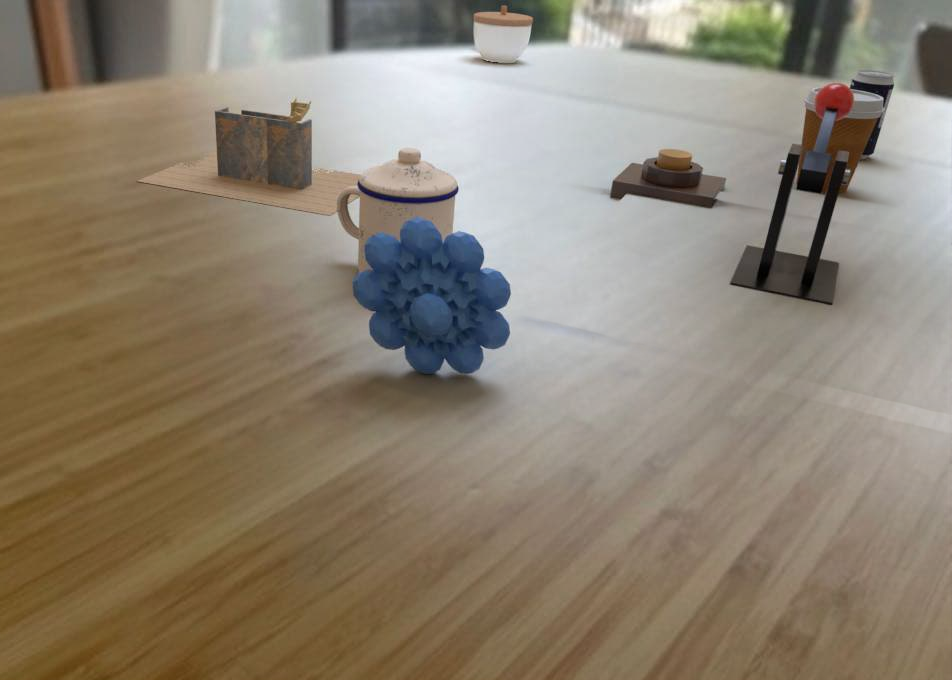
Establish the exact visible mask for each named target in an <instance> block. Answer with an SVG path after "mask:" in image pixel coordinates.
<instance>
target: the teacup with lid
mask: <svg viewBox="0 0 952 680" xmlns="http://www.w3.org/2000/svg"><path fill="white" fill-rule="evenodd" d="M397 155H398V156H397V158H393V159H390V160H388V161H387V162H384V163H383V164H381V165H378V166H373V167H370V168H368V169H365V170H363V172H361V174H360V175H361V176H360V177H359V180H358V183H357V186H351V187H348V188H346V189H344V190H343V191H342V192H341V193H340V194H339V196H338V200H337V211H336V212H337V216H338V220H339V222H340V224H341V227H342V228H343V229H344V231H345V232H346V233H347V234H348V235H349V236H351V237H352V238H354V239H356V240H358V248H357V249H358V250H357V251H358V253H357V255H358V256H357V269H358V273H360V272H363V271H365V270H368V269H370V270H373V269H372V268H371V267H370V265H369V264H368V263H367V261H366V260H365V252H364V247H365V244H366V242H367V240H368V238H369V237H371V236H374V235H376V234H378V233H380V232H382V233H386V234H389V235H392V236H394V237H396V238H397V240H398V241H399V242H400V243H401V241H400V230H401V228H402V226H403V224H404V222H406V221H408V220H411V219H413V218H415V217H420V218H423V219H426V220H429V221H431V222H432V223H433V224H434V225H435V227H436V228H437V229H438V231H439V232H440V233H441V235H442V243H443V242H444V240H445V238H446V236H448V235H451V234H453V233H454V220H455V206H456V205H455V204H456V195H458V193H459V190H460V189H459V185H458V182H457V179H456V178H455V177H454V175H452V174H451V173H450V172H448V171H446V170H442V169H441V168H440V169H439V168H436V166H434V165H433V164H431V163H430V162H428V161H426V160H424V159H422V153H421V151H420V149H418V148H415V147H403V148H401V149H400V150H399V151H398V154H397ZM351 194H353V195H358V196H359V207H358V209H359V211H358V214H359V215H358V227H357V225H356V224H355V223H354V222H353V220H352V218H351V215H350V212H349V208H348V207H349V203H348V198H349V196H350V195H351Z"/></svg>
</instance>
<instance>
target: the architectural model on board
mask: <svg viewBox="0 0 952 680" xmlns="http://www.w3.org/2000/svg"><path fill="white" fill-rule="evenodd" d="M311 104H312V100H310V101H309V102H300V101H298V99H297V98H294V100H293V101H292V102H290V114H289V115H282V114H275V113H269V112H262V111H255V110H248V109H241V110H240V111H241V112H240V113H234V112H229V111H230V110H229V108H230V107H228V106H227V107H226V106H225V107H222V108H220V109H217V110H214V122H215V125H214V126H215V140H216V142H215V143H216V150H209V151H210V152H211V151H213V152H214V153H213V152H211V153H210V152H209V151H208V152H209V153H210V154H208V153H207V155H211V157H210V156H208V157H209V158H208V157H206V156H205V157H203V158H205V159H203V160H201V161H200V160H198V161H200V162H198V163H197V164H195V165H197V166H196V167H194V166H195V165H194V166H192V165H190V166H192V167H190V166H189V167H190V168H189V167H187V166H188V165H186V166H185V165H183V164H184V163H182V162H179V163H177V164H174V165H172V166H170V167H167V168H165V169H163V170H159V171H158V172H156V173H155V172H154V173H152V174H150V175H148V176H145V177H142V178H141V179H138V180H137V182H140V183H145V184H150V185H156V186H163V187H168V188H173V189H179V190H184V191H189V192H196V193H202V194H206V195H212V196H219V197H224V198H230V199H236V200H239V201H240V200H241V201H247V202H252V203H258V204H264V205H268V206H274V207H280V208H285V209H291V210H297V211H304V212H307V213H314V214H318V215H319V214H320V215H326V216H332V215H333V214H334V213H336V212H337V200H338V196H339V194H340V193H341V192H342V191H343V190H344V189H346V188H348V187H351V186H357V183H358V180H359V177H360V176H361V174H358V173H354V172H353V173H352V172H347V173H346V171H339V170H334V169H328V170H330V171H331V170H333V172H330V171H329V173H326V172H328V170H325V169H326V168H321V167H317V168H318V169H320V170H317V169H314V170H317V172H316V171H314V170H312V167H313V164H312V162H313V160H312V159H313V149H312V148H313V144H312V143H313V119H311V118H310V119H306V120H304V121H302V120H303V119H304V118H305V116H306V115H307V113H308V112H309V111H310V109H311ZM301 121H302V122H301ZM203 154H204V153H203ZM204 155H206V154H204ZM212 155H213V156H212ZM202 161H203V162H202ZM209 161H210V162H209ZM192 163H193V162H192ZM195 163H196V162H195ZM199 163H200V164H199ZM179 164H180V165H179ZM187 164H188V163H187ZM178 165H179V166H178ZM181 165H183V166H184V167H183V166H181ZM199 165H200V166H199ZM173 166H174V167H173ZM185 167H186V168H185ZM322 170H324V171H322ZM338 171H339V172H338ZM318 172H319V173H318ZM314 173H315V174H314ZM357 198H360V196H358V195H353V194H351V195H350V196H349V198H348V204H350V203H351V202H353V201H355V200H356V199H357Z"/></svg>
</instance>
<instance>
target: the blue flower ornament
mask: <svg viewBox="0 0 952 680" xmlns="http://www.w3.org/2000/svg"><path fill="white" fill-rule="evenodd" d="M400 241H401V243H400V242H399V241H398V240H397V238H396V237H394V236H392V235H389V234H386V233H382V232H380V233H378V234H376V235H374V236H371V237H369V238H368V240H367V242H366V244H365V247H364V252H365V260H366V261H367V263H368V264H369V265H370V267H371V268H372V269H373V270H370V269H368V270H365V271H363V272H360V273H359V272H358V273H357V274H355V277H354V278H353V281H352V294H353V297H354V298H355V300H356V301H357V303H358V304H359V305H360V306H361V307H362V308H363V309H365V310H368V311H371V312H373V313H372V314H371V316H370V319H369V320H368V330H369V335H370V337H371V338H372V340H373V341H374V342H375V343H376V344H377V345H378V346H379V347H381V348H383V349H384V350H389V351H396V350H399V349H401V348H403V347H404V349H403V351H404V357H405V360H406V361H407V363H408V364H409V366H410V367H411V368H412V369H413V370H414V371H417V372H418V373H420V374H424V375H425V374H426V375H430V374H435V373H437V372H438V371H440V370H441V369H442V366H443V365H444V363H445V361H446V363H447V365H449V367H450V368H451V369H452V370H454V371H456V372H457V373H459V374H465V375H469V374H473V373H475V372H477V371H479V370H480V368H481V367H482V364H483V362H484V359H485V358H484V349H487V350H492V351H493V350H497V349H500V348H502V347H504V346H506V344H507V342H508V340H509V338H510V335H511V330H510V323H509V322H508V321H507V320H506V318H505V316H504V315H503V314H502V313H501V312H500V311H498V310H501V309H503V308H506V307H507V305H508V302H509V301H510V299H511V295H512V290H511V284H510V283H509V281H508V280H507V278H506V277H505V276H504V274H503V273H502V272H501V271H499V270H496V269H495V268H490V267H484V268H482V266H483V264H484V263H485V262H484V261H485V251H484V248H483V246H482V245H481V243H480V241H478V240H477V238H476V236H475V235H473V234H471V233H468V232H465V231H461V230H458V231H455V232H453V233H452V234H451V235H448V236H446V238H445V240H444V242H443V243H442V235H441V233H440V232H439V231H438V229H437V228H436V227H435V225H434V224H433V223H432V222H431V221H429V220H426V219H423V218H420V217H415V218H413V219H411V220H408V221H406V222H404V224H403V226H402V228H401V230H400ZM483 348H484V349H483Z"/></svg>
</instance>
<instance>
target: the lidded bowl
mask: <svg viewBox="0 0 952 680" xmlns="http://www.w3.org/2000/svg"><path fill="white" fill-rule="evenodd" d="M533 21H534V18H533V16H530V15H528V14H527V15H526V14H521V13H516V12H515V13H513V12H508V5H501V7H500V11H480V12H475V13H474V14H473V30H472V32H473V34H472V35H473V42H474V46H475V48H476V51H477V52H478V53H479V55H480V56H481V58H482V60H483V59H485V60H488V61H493V62H498V63H497V64H514V63H516V62H517V60H518V59H519V58H521V56H523V54H524V53H525V52H526V49H527V48H528V45H529V42H530V39H531V33H532V25H533V23H534V22H533Z"/></svg>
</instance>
